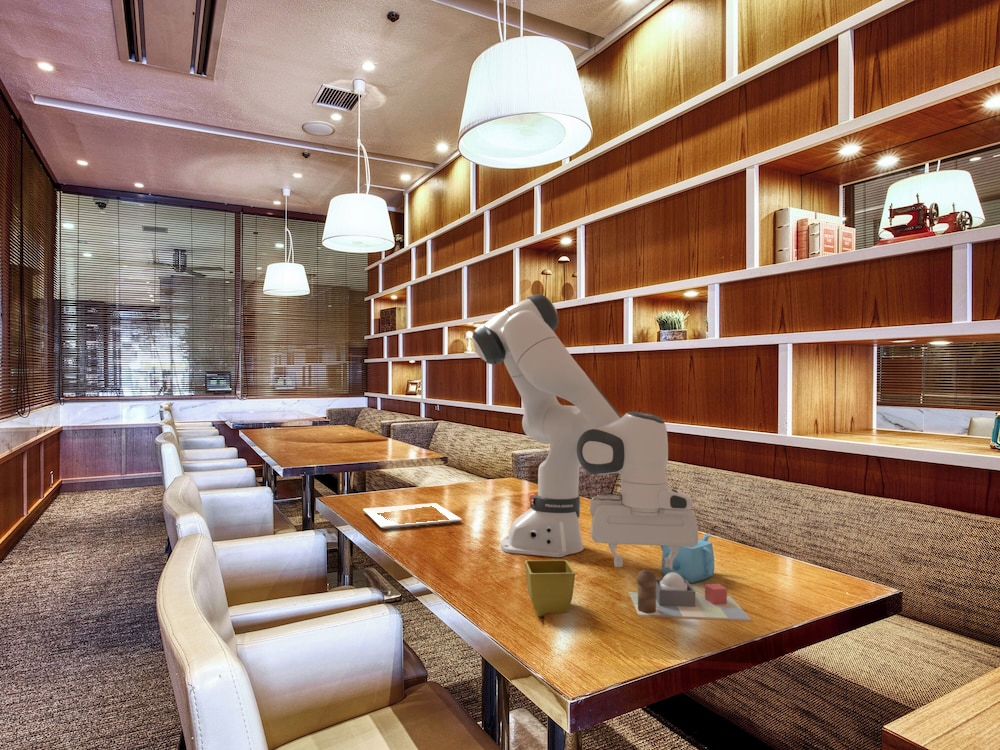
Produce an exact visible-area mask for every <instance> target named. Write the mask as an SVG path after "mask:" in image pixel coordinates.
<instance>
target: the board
mask: <svg viewBox="0 0 1000 750" xmlns="http://www.w3.org/2000/svg"><path fill="white" fill-rule="evenodd" d="M656 579H657V583H656V611H655V612H654V613H644V612H641V611H639V610H638V591H628V595H629V596H630V599H631V601H632V604H633V605H634V608H635V611H636V613H637V616H638V617H639V618H656V619H657V618H659V619H660V618H662V619H663V618H664V619H683V620H684V619H685V620H687V619H688V620H708V621H727V622H729V621H732V622H754V621H753V619H752V618H751V617H749V615H748V614H747V613H746V612H745V611H744V609H743V608H742V606H740V605H739V604H738V603H737V602H736V600H735V599H734V598H733V597H732V596H731V595H727V604H714V605H713V604H712V603H710V602H709V601H707V600H706V599H705V594H697V593H696V590H695V589H694V588H693V586H692V585H691V583H689V582H688V581H687V580H684V582H685V583H686V584H687V591H686V590H662V589H661V588H660V581H661V580H663V578H656Z"/></svg>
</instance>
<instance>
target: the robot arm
mask: <svg viewBox="0 0 1000 750" xmlns="http://www.w3.org/2000/svg"><path fill="white" fill-rule="evenodd" d="M559 322H560V319H559V316H558V311H557V308H556V307H555V305H554V304H553V302H552V301H551V300H550V299H549V298H548V297H547V296H546V295H543V294H541V293H537V294H533V295H530V296H527V297H526V299H523V300H520V301H518V302H516V303H514V304H512V305H509V306H508V307H506V308H505V309H504V310H502V311H501V312H499V313H497V314H496V315H494V316H493V317H491V318H490V319H489V320H487V321H486V322H484V323H480V325H478V326H477V327H476V328H475V329H474V330H473V333H472V343H473V347H474V351H475V352H476V354H477V355H478V357H479V358H480V359H481V360H483V361H485V363H486V364H489V365H497V364H501V363H504V365H505V368H506V370H507V372H508V374H509V376H510V379H511V380H512V382H513V383H514V386H515V388H516V389H517V392H518V393H519V395H520V398H521V400H522V403H523V404H522V405H523V409H524V414H523V416H522V419H521V420H522V421H521V424H522V425H521V426H522V429H523V432H524V433H525V435H526V436H527V437H528V438H531V439H532V440H534V441H537V442H539V443H543V444H548V445H549V444H550V446H549V451H548V454H547V457H546V458H545V459H544V461H542V462H541V463H540V464H539V466H538V469H537V494H535V493H530V495H529V496H528V500H529V504H530V506H529V507H530V508H529V509H528V510H526V511H525V512H523V513H522V514H521V515H519V516H518V517H517V518H516V519H514V520H513V522H512V523H511V526H510V529H509V535H508V536H505V537H503V539H502V540H501V545H500V548H501V550H503V552H506V553H509V554H521V555H532V556H541V557H542V556H543V557H553V558H562V557H566V556H567V555H571V554H572V555H573V554H576V553H579V552H580V553H581V552H582V551H583V550H584V549H585V548H584V544H583V539H582V535H581V529H580V519H579V518H580V515H581V499H580V498H581V497H580V495H579V482H580V467H582V468H583V469H584V470H585V471H586V472H588V473H591V474H593V475H594V474H595V475H599V476H600V475H609V474H616V473H617V474H619V475H620V482H621V483H620V494H604V493H600V494H597V495H596V496H594V497H592V498H591V500H590V502H589V512H590V515H591V516H592V519H591V525H590V526H591V528H590V537H591V539H592V540H593V541H594V543H597V544H608V548H609V550H610V552H611V554H612V556H613V563H614V565H613V566H614V567H619V568H620V567H623V565H624V564H623V560H624V557H623V556H622V555H620V554H619V555H618V554H617V551H616V550H617V549H618V545H634V546H636V545H640V546H657V547H658V546H659V547H661V546H669V548H670V550H671V552H670V554H669V556H668V557H667V558H663V562H664V563H663V567H664V569H672V567H673V560H674V559H675V557H676V556H677V554H678V552H679V547H694V546H695V545H696V544H697V543H698V539H699V527H698V520H697V517H696V514H695V513H694V512H693V511H692V508H693V504H694V502H693V500H692V498H691V497H690V496H689V495H688V494H686V493H684V492H682V491H679V490H676V489H673V488H671V487H668V484H669V483H668V482H669V481H668V476H667V472H666V471H667V465H668V460H669V441H668V430H667V426H666V423H665V421H664V420H663V419H662V418H661V417H660V416H657V415H655V414H652V413H647V412H641V411H628V412H626V413H625V414H624V415H623V416H622V415H621V414H620V413H619V412H618V410H616V408H615V406H614V405H613V404H612V403H611V402H610V401H609V400H608V398H607V397H606V396H605V394H604V393H603V392H602V391H601V390H600V389H599V387H598V386H597V385H596V384H595V383H594V382H593V380H592V379H591V378H590V377H589V376H588V375H587V373H585V371H584V370H583V369H582V367H580V365H579V364H578V363H577V361H576V360H575V359H574V358H573V356H572V354H571V353H570V351H568V350H567V348H566V346H565V345H564V343H562V341H561V340H560V338H559V337H558V335H557V334H556V333H555V330H556V329H557V328H558V325H559ZM557 397H558V398H561V399H563V400H565V401H568V402H570V403H571V404H573V405H566V404H563V405H562V404H561V402H559V401H558V399H557Z"/></svg>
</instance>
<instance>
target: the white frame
mask: <svg viewBox="0 0 1000 750" xmlns="http://www.w3.org/2000/svg"><path fill="white" fill-rule="evenodd" d="M430 506H432V507H434V508H436V509H437V510H438V511H439V512H440V513H442V514H443V515H445V516H446V517H447V518H448V519H449V520H438V521H427V522H416V523H405V524H398V523H397V522H396V521H395V522H396V523H397V524H396V523H395V522H394V521H393V520H392V521H391V519H390V518H389V519H390V520H389V519H388V518H387V519H388V520H387V519H385V518H386V517H385V518H384V517H383V516H381V514H380V515H378V514H377V513H384V512H391V511H399V510H407V509H415V508H422V507H430ZM362 510H363V512H365V513H366V514H367V515H368V516H369V517H370V518H371V519H372V520H373V521H374V522H375V523H376V524H377V525H378V526H379V528H381V529H385V530H391V528H394V529H401V528H400V527H405V528H410V527H409V526H416V527H420V526H419V525H426V526H429V525H428V524H437V523H447V524H449V523H448V522H454V523H457V522H460V521H462V520H463V518H461V517H460V516H458V515H456V514H455V513H453V512H451V511H450V510H448V509H446V508H445V507H443V506H441V505H439V504H438V503H436V502H432V503H431V502H430V503H429V502H428V503H418V504H406V505H404V504H403V505H392V506H379V507H367V508H363V509H362ZM437 525H438V524H437Z"/></svg>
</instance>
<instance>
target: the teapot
mask: <svg viewBox="0 0 1000 750" xmlns="http://www.w3.org/2000/svg"><path fill="white" fill-rule="evenodd" d="M710 537H711V533H706V534H704V535H703V536H702V539H699V538H698V543H697V544H696V545H695V546H694V547H679V552H678V554H677V556H676V557H675V559H674V560H673V567H672V569H664V567H663V563H664V562H663V558H667V557H668V556H669V554H670V552H671V550H670V548H669V546H660V549H661V551H662V554H661V555H662V556H661V571H662V572H661V573H662V575H664V576H665V575H666V574H668V573H671V572H674V573H677V574H679V575H680V576H681V577H682V578H683V580H687V581H688V582H689V584H693V583H697V582H701V581H704V580H706V579H708V578H710V577H713V575H714V573H715V554H714V547H713V542H710V541H709V539H710Z"/></svg>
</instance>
